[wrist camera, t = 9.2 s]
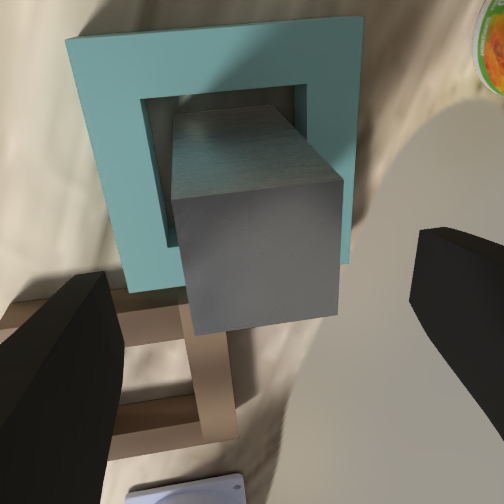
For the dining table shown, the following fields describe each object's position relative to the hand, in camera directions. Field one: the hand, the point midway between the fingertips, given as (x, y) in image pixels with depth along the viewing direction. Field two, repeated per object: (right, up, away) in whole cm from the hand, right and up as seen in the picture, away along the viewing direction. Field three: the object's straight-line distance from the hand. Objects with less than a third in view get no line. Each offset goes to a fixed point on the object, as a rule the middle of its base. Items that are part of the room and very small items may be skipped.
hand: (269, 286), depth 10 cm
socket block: (-7, -5, +14) cm, 16 cm away
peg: (-1, +5, +9) cm, 10 cm away
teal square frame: (-1, +5, +9) cm, 10 cm away
